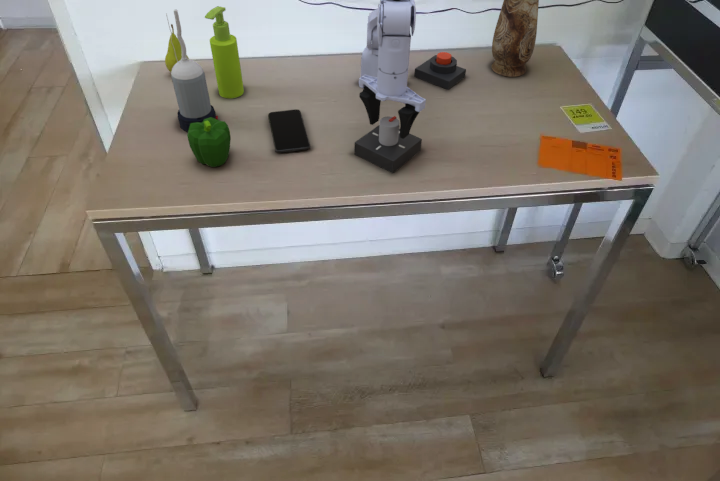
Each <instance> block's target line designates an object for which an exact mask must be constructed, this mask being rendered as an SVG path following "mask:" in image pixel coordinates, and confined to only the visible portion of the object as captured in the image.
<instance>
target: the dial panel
mask: <svg viewBox="0 0 720 481" xmlns="http://www.w3.org/2000/svg"><path fill="white" fill-rule="evenodd" d="M379 125H380V124H378V125H377V126H375V127H374V128H373V129H371V130H370V131H368V132H367V133H366V134H364V135H363V136H362V137H361V138H359V139H357V140H356V141H354V148H353V149H354V155H355V156H357V157H359V158H361V159H363V160H365V161H367V162H369V163H370V164H373V165H375V166H377V167H379V168H381V169H382V170H385V171H387V172H389V173H392V174H394V173H395V172H397V171H398V170H399V169H400V168H402V167H403V166H404V165H405V164H407V163H408V162H409V161H410V160H411V159H413V158H414V157H415V156H416V155H417V154H418V153H420V152H421V151H422V144H423V139H422V138H421V137H419V136H417V135H415V134H413V133H410V132H409V135H408V136H406V137H405V138H404V139H402V138H400V128H399V136H398V143H397V144H396V145H393V146H385V145H382V144H381V143H380V142H379Z"/></svg>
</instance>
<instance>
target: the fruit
mask: <svg viewBox="0 0 720 481" xmlns="http://www.w3.org/2000/svg"><path fill="white" fill-rule="evenodd" d="M170 28H171V32H172V43H171V35H170V36H169V40H168V46H167V52H166V55H165V58H164V63H165V67H166V69H167V71H168V72H170V73H171V71H172V68H173V66H174V65H175V64H176V63H177V62H178V61H180V60H181V58H182V49H181V45H180V42H179V40H178V38H177V34H175V32H174V30H175V29H174V24H173V23H170ZM172 44H173V45H172ZM173 46H174V48H173ZM174 49H175V51H174ZM175 53H176V56H175ZM176 57H177V59H176ZM186 57H187V58H188V59H190V58H189V56H188V54H186ZM177 60H178V61H177Z"/></svg>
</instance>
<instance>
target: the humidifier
mask: <svg viewBox="0 0 720 481" xmlns="http://www.w3.org/2000/svg"><path fill="white" fill-rule="evenodd" d="M165 14H166V19H167V23H168V28H169V32H170V36H171V43H172V29H171V25H170V23H169V22H170V21H169V18H168V13H165ZM173 15H174V20H175V26H176V37H177V38H178V40H179V42H180V45H181V49H182V58H181V60H180V61H178V60H177V61H178V62H177V63H176V64H175V65H174V66H173V68H172V71H171V72H170V74H171V75H170V77H171V82H172V86H173V89H174V93H175V98H176V101H177V102H176V103H177V106H178V110H177V114H176V115H177V120H178V124H179V127H180V129H181V130H183V131H184V132H186V133H188V130H189V127H190V123H196V122H201V123H202V122H203V120H204V119H207V118H209V117H212V118H214V119H217V120H219V116H218V115H217V112H216V109H215V108H214V106H213V105H212V104H211V99H210V94H209V89H208V84H207V83H208V82H207V79H206V73H205V71H204V68H203V66H202V65H201V64H200V63H198V62H197V61H196V60H194V59H190V58H189V57H188V58H189V59H188V58H187V57H186V55H187V46H186V43H185V40H184V39H183V36H182V26H181V21H180V17H179V10H178V9H173ZM172 45H173V44H172ZM173 48H174V46H173ZM174 51H175V49H174ZM175 56H176V53H175ZM176 59H177V57H176Z"/></svg>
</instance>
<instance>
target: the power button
mask: <svg viewBox="0 0 720 481" xmlns="http://www.w3.org/2000/svg"><path fill="white" fill-rule="evenodd" d="M436 55H437V59H436V62H437V63H438V64H442V65H448V64H450V63H451V58H452V57H453V56H452V54H451V53H450V52H446V51H441V52H438V53H437V54H436Z"/></svg>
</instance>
